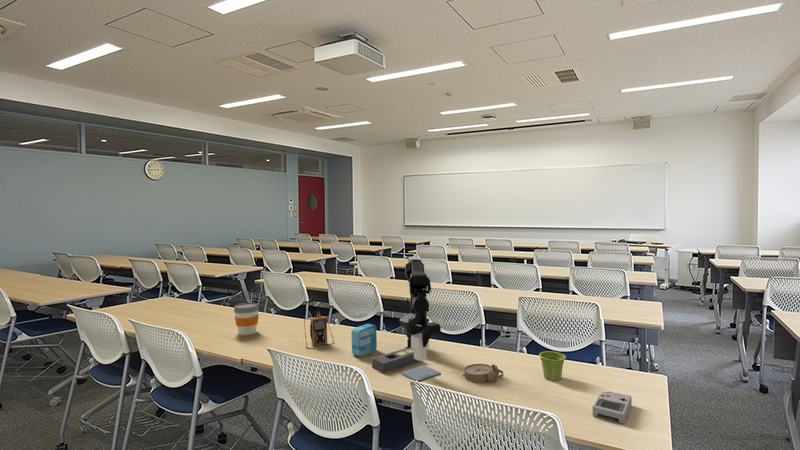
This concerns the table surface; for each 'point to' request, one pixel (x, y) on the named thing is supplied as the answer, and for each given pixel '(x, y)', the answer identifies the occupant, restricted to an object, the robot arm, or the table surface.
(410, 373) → the mat
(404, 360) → the block
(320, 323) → the multimeter
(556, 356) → the plant pot
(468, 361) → the table surface
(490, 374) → the alarm clock
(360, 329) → the data package
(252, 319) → the reusable coffee cup
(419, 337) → the plug
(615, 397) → the handheld gaming device
